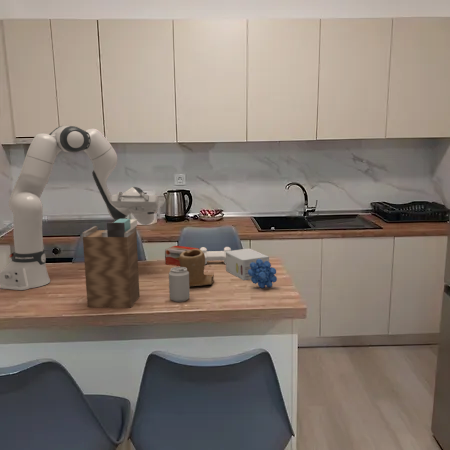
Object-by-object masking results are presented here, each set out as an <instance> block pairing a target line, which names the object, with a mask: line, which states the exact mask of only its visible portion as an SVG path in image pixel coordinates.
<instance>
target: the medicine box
mask: <svg viewBox="0 0 450 450" xmlns="http://www.w3.org/2000/svg"><path fill="white" fill-rule="evenodd" d="M192 249H199V250H200V248H199V247H198V248H197V247H191V246H181V245H173V246H170V247H167V248H165V250H164V261H165V265H167V266H173V267H179V266H180V261H179V256H180V254H181V253H182V252H184V251H189V250H192Z"/></svg>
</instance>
